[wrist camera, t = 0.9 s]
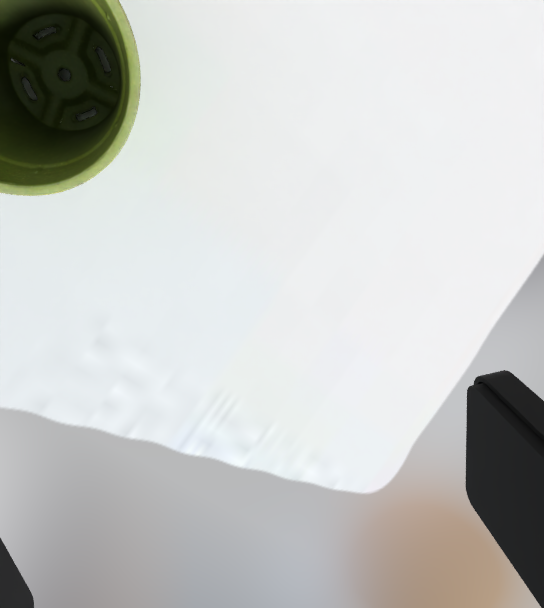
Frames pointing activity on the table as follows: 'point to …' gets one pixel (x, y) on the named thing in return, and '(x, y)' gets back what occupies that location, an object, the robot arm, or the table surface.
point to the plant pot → (63, 92)
